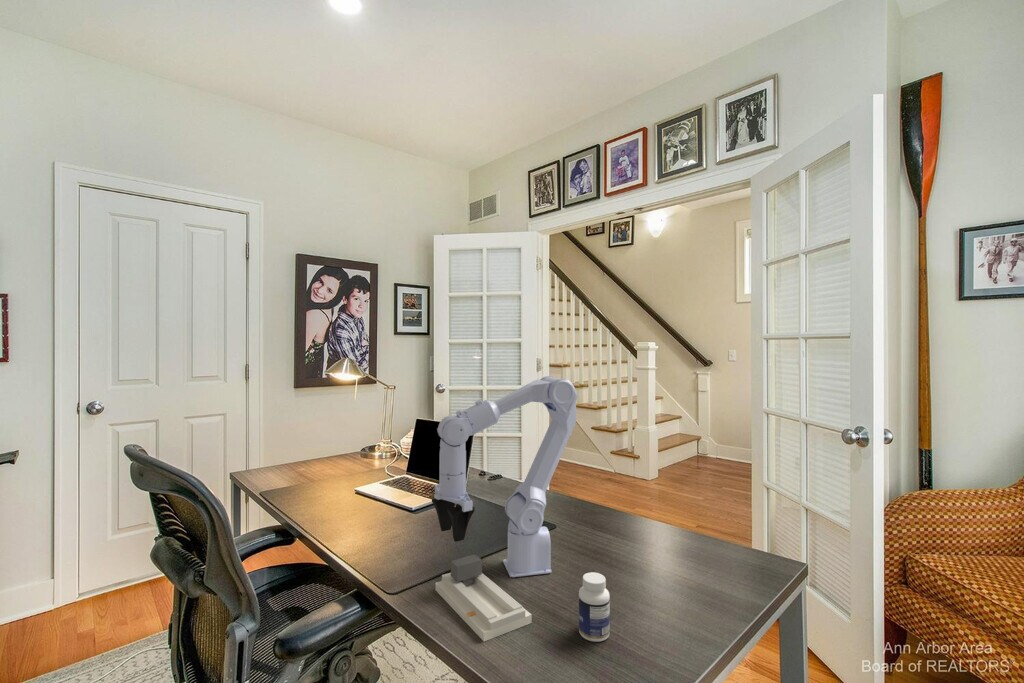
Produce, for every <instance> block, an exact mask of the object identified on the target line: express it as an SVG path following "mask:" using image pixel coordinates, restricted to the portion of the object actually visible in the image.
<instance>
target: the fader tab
mask: <svg viewBox="0 0 1024 683" xmlns="http://www.w3.org/2000/svg"><path fill="white" fill-rule="evenodd" d="M450 573H451V577H453V578H454V579H455V580H456V581H457V582H459V581H461V582H462V583H463V584H464V585H465V586H467V585H471V584H474V577H475V576H479V575H482V573H483V560H482V558H480V557H479V556H477V555H476V554H471V555H468V556H467V555H466V556H463V557H461V558H457V559H453V560H450Z"/></svg>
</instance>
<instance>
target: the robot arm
mask: <svg viewBox="0 0 1024 683" xmlns="http://www.w3.org/2000/svg"><path fill="white" fill-rule="evenodd" d="M578 398H579V394H578V392H577V390H576V388H575V386H574V384H573V382H572V381H570V380H569V379H566V378H558V377H554V376H550V375H546V376H543V377H541V378H540V379H536V380H533V381H531V382H528V383H527V384H526V385H523V386H522V387H519V388H518V389H515V390H514V391H512V392H510V393H508V394H506V395H504V396H503V397H500V398H499V399H497V400H495V401H494V402H492V401H491V400H488V399H484V400H481V399H477V400H476V401H475V404H474V405H472V406H469V407H468V408H466V409H464V410H460V409H458V410H456V411H455V414H456V415H452V414H451V415H447V416H444V417H442V419H441V421H440V422H439V424H438V427H437V428H436V430H437V434H438V437H440V442H439V447H440V448H439V472H438V473H439V479H438V480H439V483H438V484H434V495H433V496H434V497H432V498H431V502H432V504H433V506H434V509H435V510H436V514H437V519H438V523H439V528H440V531H441V532H445V531H450V530H452V537H453V538H452V539H453V542H456V543H457V542H460V541H464V540H465V537H466V534H467V529H468V526H469V522H470V519H471V518H472V516H473V514H474V512H475V507H474V505H473V504H474V502H473V500H472V499H471V498H470V496H469V494H468V492H467V450H466V442H467V441H468V439H469V437H470V436H474V435H476V434H478V433H480V432H481V431H484V430H486V429H488V428H490V427H492V426H494V425H496V424H497V423H498V421H499V419H500V417H501V416H502V415H504V414H506V413H509V412H511V411H514V410H516V409H518V408H520V407H522V406H524V405H528V404H529V403H532V402H533V403H542V405H544V406H545V407H546V409H547V411H548V413H549V416H550V418H551V421H550V423H549V426H548V427H547V430H546V431H545V432H546V433H545V435H544V437H543V440H542V441H541V443H540V446H539V448H538V450H537V453H536V454H535V457H534V459H533V461H532V464H531V466H530V468H529V470H528V472H527V475H526V476H525V477H526V478H525V479H524V481H523V482H522V483H520V484H518V486H516V488H515V491H514V492H513V494H512V495H510V496H509V497H508V498H507V499H506V501H505V503H504V512H505V514H506V516H507V517H508V518H509V521H508V525H507V558H504V559H503V560H502V563H503V565H504V567H505V569H506V571H507V573H508V576H509V578H516V577H518V578H519V577H528V576H535V575H543V574H551V573H552V569H551V568H552V567H551V565H552V564H551V558H552V557H551V555H552V553H551V552H552V550H551V549H552V547H551V545H552V543H551V536H550V531H549V529H548V527H547V526H543V522H544V518H545V517H544V516H545V515H544V513H545V509H546V507H547V498H546V497H547V496H546V492H547V490H548V487H549V485H550V482H551V481H552V478H553V475H554V473H555V471H556V469H557V468H558V464H559V463H560V460H561V457H562V455H563V453H564V451H565V448H566V446H567V443H568V442H569V439H570V438H571V435H572V433H573V430H574V428H575V426H576V423H577V400H578Z"/></svg>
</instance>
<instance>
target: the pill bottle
mask: <svg viewBox="0 0 1024 683" xmlns="http://www.w3.org/2000/svg"><path fill="white" fill-rule="evenodd" d="M606 586H607V579H606V577H605V575H603V574H601V573H599V572H595V571H594V572H592V571H591V572H587V573H584V574H583V576H582V586H581V587H580V588H579V589H578V590H579V591H578V632H579V634H580V636H581V637H582V638H583V639H585V640H587V641H590V642H595V643H596V642H598V643H599V642H602V641H605V640H607V639H608V638H609V637H610V630H611V627H610V626H611V625H610V624H611V623H610V622H611V621H610V617H611V616H610V614H611V613H610V612H611V609H610V605H611V600H610V596H611V595H610V592H609V590H608V589H607V588H606Z"/></svg>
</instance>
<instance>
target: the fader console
mask: <svg viewBox="0 0 1024 683" xmlns="http://www.w3.org/2000/svg"><path fill="white" fill-rule="evenodd" d="M435 591H436V592H437V594H438V595H440V597H441V598H442V599H443V600H444V601H445V602H446V603H447V604H448V605H449V606H450V608H452V609H453V611H455V613H456V614H458V615H459V617H460V618H461V619H462V620H463V621H464V622H465V623H466V624H467V626H469V627H470V629H471V630H473V632H474V633H475V634H476V635H477V636H478V637H479V638H480V640H482V642H487V641H490V640H492V639H495V638H496V637H497V638H498V637H499V636H502V635H504V634H507V633H511V631H515V630H517V629H519V628H522V627H525V626H527V625H529V624H532V623H533V621H532V620H533V618H532V617H533V616H532V615H533V614H532V613H530V612H529V611H528V610H527V609H525V608H524V607H523V605H522V604H520V603H519V601H517V600H515V599H514V598H513V597H512V596H511V595H509V594H508V593H507V592H506V591H505V590H503V589H502V588H501V587H500V586H498V585H497V584H496V583H495V582H494V581H493V580H492V579H490V578H489V577H488V576H486V574H484V573H483V572H482V575H479V576H475V577H474V584H471V585H467V586H465V585H464V584H463V583H462V582H461V581H459V582H457V581H456V580H455V579H454V578H453V577H451V572H449V573H444V574H441V580H440V581H438V582H437V581H436V582H435Z"/></svg>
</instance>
